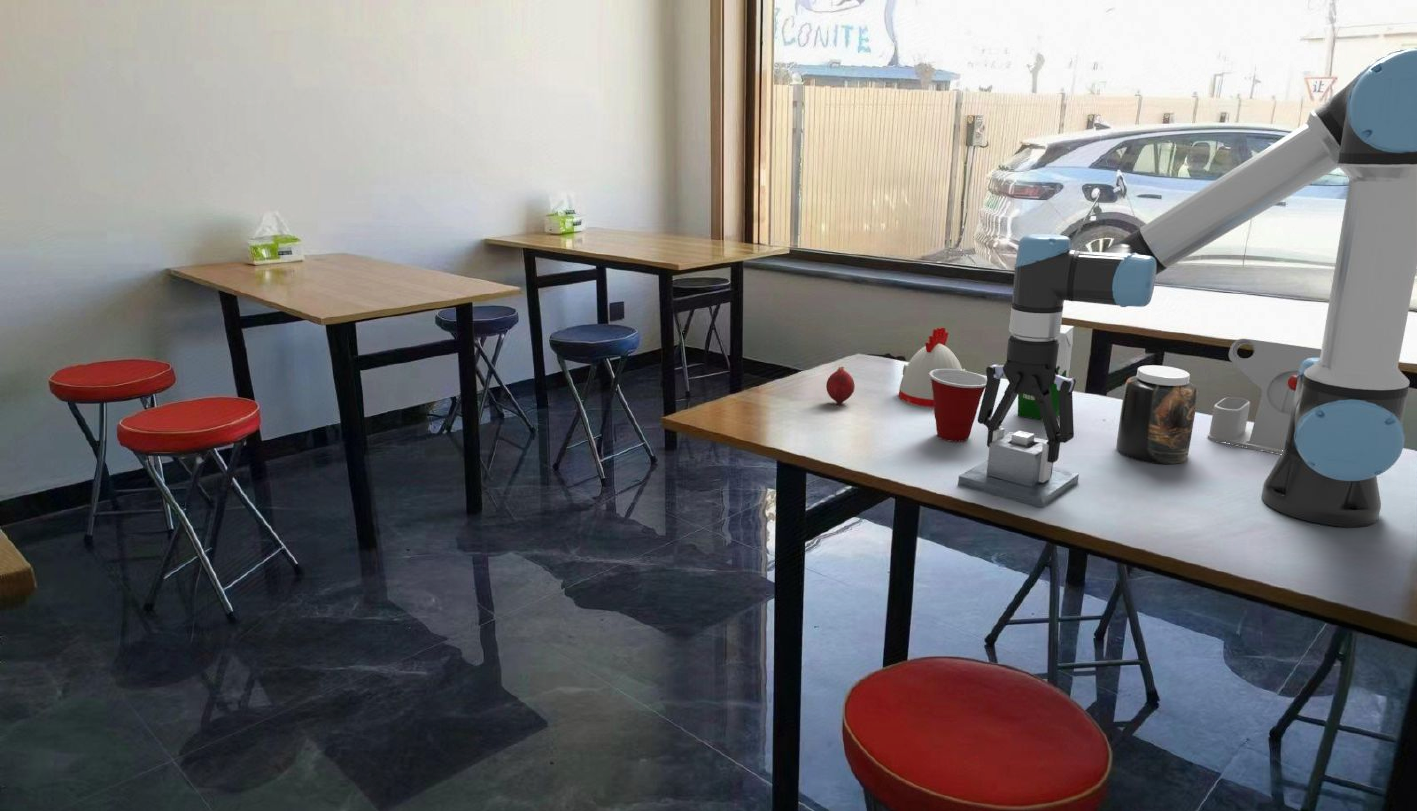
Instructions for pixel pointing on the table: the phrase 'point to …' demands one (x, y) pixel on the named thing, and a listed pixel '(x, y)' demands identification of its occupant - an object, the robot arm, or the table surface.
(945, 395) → the plastic cup
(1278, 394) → the phone holder
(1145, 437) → the jar
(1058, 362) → the milk carton
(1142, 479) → the table surface
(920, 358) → the chicken hat
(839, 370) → the onion
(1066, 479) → the stand
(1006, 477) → the block
